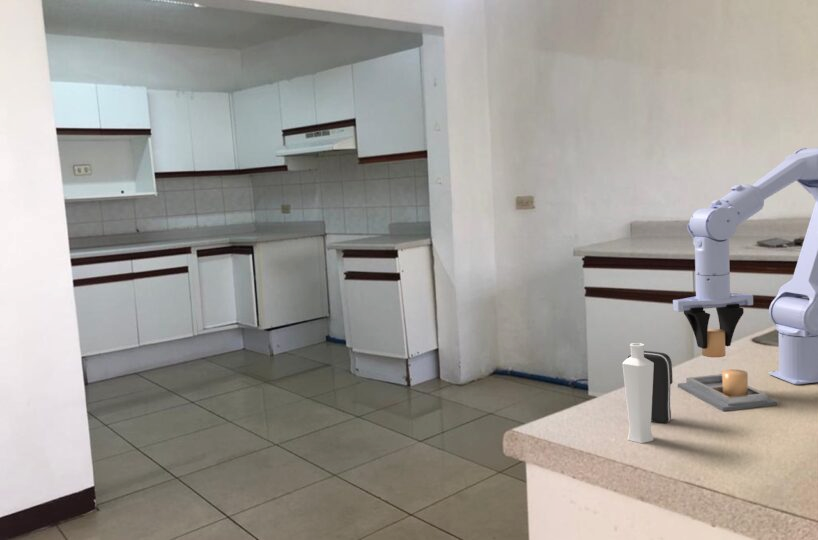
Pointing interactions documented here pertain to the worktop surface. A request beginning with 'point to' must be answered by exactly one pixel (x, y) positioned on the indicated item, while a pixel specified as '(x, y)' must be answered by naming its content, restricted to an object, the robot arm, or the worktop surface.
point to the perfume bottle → (638, 393)
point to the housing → (727, 391)
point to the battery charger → (660, 385)
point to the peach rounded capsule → (715, 343)
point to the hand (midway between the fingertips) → (713, 346)
